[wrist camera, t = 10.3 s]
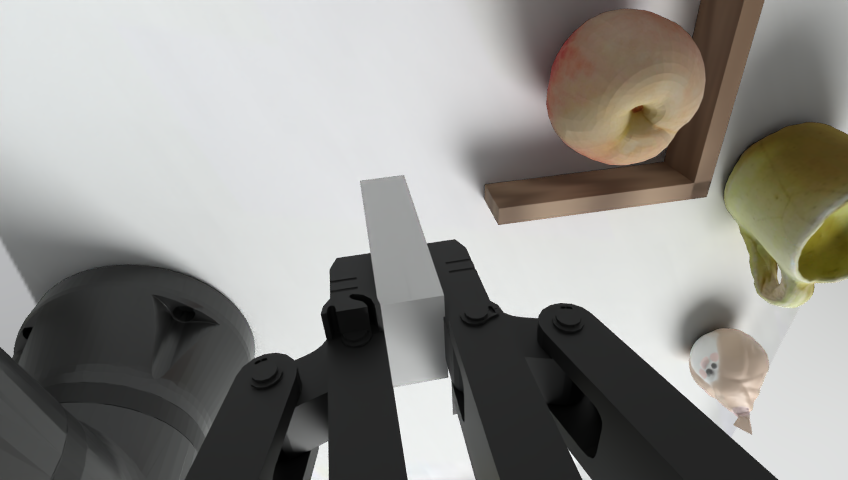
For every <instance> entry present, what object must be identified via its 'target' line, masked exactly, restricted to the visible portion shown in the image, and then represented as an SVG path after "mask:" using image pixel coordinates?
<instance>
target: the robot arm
mask: <svg viewBox="0 0 848 480" xmlns="http://www.w3.org/2000/svg"><path fill="white" fill-rule="evenodd" d="M360 184H361V191H362V198H363V205H364V211H365V218H366V225H367V232H368V239H369V245H370V252H371V253H368V254H361V255H355V256H348V257H341V258H336V260H335V262H334V263H333V265H332V267H331V268H330V299H329V300H328V302H327V303H326V304H325V305H324V306H323V308H322V312H321V317H322V322H323V326H324V330H325V334H326V338H327V340H326V341H325V342H324V343H323V345H322V346H321V347H319V348H318V349H317V350H315V351H314V352H312V353H310V354H308V355H306V356H304V357H301V358H299V359H297V360H294V359H292V358H291V357H289V356H288V355H286V354H280V353H271V354H264V355H262V356H259V357H257V358H254V355H255V343H254V337H253V334H252V331H251V329H250V326H249V324H248V322H247V321H246V319H245V318H244V316H243V315H242V313H241V312H240V311H239V310H238V308H237V307H236V306H235V305H234V304H233V303H232V302H231V301H230V300H228V299H227V298H226V297H225V296H224V295H222V294H221V293H219V292H218V291H217V290H215V289H213V288H212V287H210V286H208V285H206V284H205V283H203V282H201V281H199V280H196V279H194V278H192V277H189V276H187V275H184V274H181V273H178V272H174V271H171V270H166V269H162V268H156V267H150V266H139V265H116V266H106V267H100V268H95V269H91V270H87V271H84V272H81V273H78V274H76V275H73V276H71V277H69V278H67V279H65V280H63V281H61V282H60V283H58V284H57V285H55V286H54V287H53V288H52V289H50V290H49V291H48V292H47V293H46V294H45V295H44V296H43V298H42V299H41V300H40V301H39V303H38V304H37V305H36V307H35V308H34V309H33V310H32V312H31V313H30V314H29V315H28V317H27V318H26V319H25V321H24V323H23V324H22V326H21V329H20V330H19V333H18V335H17V338H16V342H15V347H14V355H13V358H11V357H10V356H9V355H8V354H7V353H6V352H5V351H4V350H3V349H1V347H0V480H311V476H312V472H313V469H314V465H315V461H316V457H317V454H318V449H319V445H321V444H323V443H325V442H327V441H328V446H329V480H408V479H407V473H406V467H405V460H404V454H403V447H402V441H401V435H400V428H399V422H398V416H397V409H396V403H395V397H394V390H393V387H398V386H404V385H409V384H415V383H420V382H426V381H431V380H437V379H442V378H448V369H449V373H450V376H451V380H452V401H453V414H458V417H459V421H460V425H461V428H462V432H463V436H464V439H465V443H466V446H467V450H468V454H469V457H470V461H471V465H472V468H473V472H474V475H475V479H476V480H582V478H581V476H580V474H579V472H578V470H577V467H576V465H575V463H574V461H573V459H572V457H571V455H570V453H569V451H570V452H571V453H572V455H573V456H574V457H575V458H576V460H577V461H578V462H579V464H580V465H581V466H582V467H583V469H584V470H585V471H586V473H587V474H588V475H589V476H590V478H591V479H592V480H778V479H777V478H775V476H773V475H772V474H771V473H770V472H769V471H768V470H767V469H766V468H764V467H763V466H762V465H761V464H760V463H759V462H758V461H757V460H755V459H754V458H753V457H752V456H751V455H750V454H749V453H748V452H746V451H745V450H744V449H743V448H742V447H741V446H740V445H738V444H737V443H736V442H735V441H734V440H733V439H732V438H731V437H730V436H729V435H727V434H726V433H725V432H724V431H723V430H722V429H721V428H720V427H718V426H717V425H716V424H715V423H714V422H713V421H712V420H711V419H709V418H708V417H707V416H706V415H705V414H704V413H703V412H702V411H700V410H699V409H698V408H697V407H696V406H695V405H694V404H693V403H691V402H690V401H689V400H688V399H687V398H686V397H685V396H684V395H682V394H681V393H680V392H679V391H678V390H677V389H676V388H675V387H673V386H672V385H671V384H670V383H669V382H668V381H667V380H666V379H665V378H663V377H662V376H661V375H660V374H659V373H658V372H657V371H656V370H654V369H653V368H652V367H651V366H650V365H649V364H648V363H647V362H645V361H644V360H643V359H642V358H641V357H640V356H639V355H638V354H636V353H635V352H634V351H633V350H632V349H631V348H630V347H629V346H627V345H626V344H625V343H624V342H623V341H622V340H621V339H620V338H618V337H617V336H616V335H615V334H614V333H613V332H612V331H611V330H609V329H608V328H607V327H606V326H605V325H604V324H603V323H602V322H600V321H599V320H598V319H597V318H596V317H595V316H594V315H593V314H592V313H590V312H589V311H587V310H585V309H584V308H582V307H580V306H576V305H573V304H565V303H559V304H554V305H550V306H548V307H546V308H545V309H543V310H542V312H541V313H540V315H539V318H525V317H516V316H512V315H508V314H505V313H503V311H502V310H501V308H500V307H499V306H498V305H497V304H495V303H493V302H491V301H490V300H489V297H488V295H487V293H486V291H485V289H484V286H483V284H482V282H481V280H480V278H479V275H478V273H477V271H476V269H475V267H474V264H473V262H472V261H471V258H470V256H469V253H468V251H467V249H466V247H464V246H463V245H462V244H460V243H459V242H458V241H456V240H455V239H454V240H447V241H441V242H434V243H426V240H425V237H424V234H423V231H422V228H421V225H420V222H419V219H418V216H417V213H416V210H415V207H414V204H413V201H412V198H411V195H410V192H409V189H408V186H407V183H406V180H405V177H404V175H401V176H393V177H386V178H378V179H371V180H363V181H360ZM568 449H569V451H568Z"/></svg>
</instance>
